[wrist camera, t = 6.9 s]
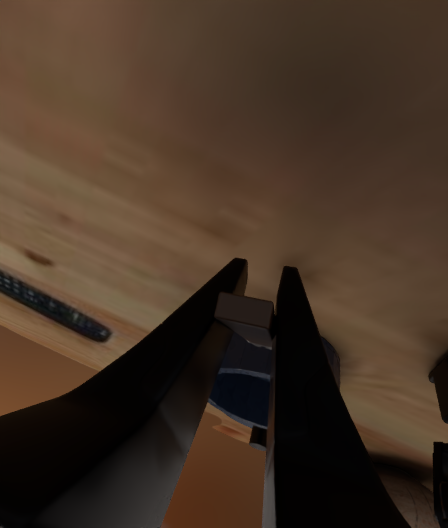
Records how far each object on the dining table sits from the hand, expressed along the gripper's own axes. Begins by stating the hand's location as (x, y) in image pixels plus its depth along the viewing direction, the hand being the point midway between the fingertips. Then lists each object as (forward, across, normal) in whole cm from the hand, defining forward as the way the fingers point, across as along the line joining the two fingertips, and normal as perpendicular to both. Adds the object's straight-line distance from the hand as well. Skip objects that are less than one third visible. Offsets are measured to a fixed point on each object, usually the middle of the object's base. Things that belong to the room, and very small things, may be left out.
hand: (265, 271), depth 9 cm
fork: (+1, 0, +6) cm, 6 cm away
